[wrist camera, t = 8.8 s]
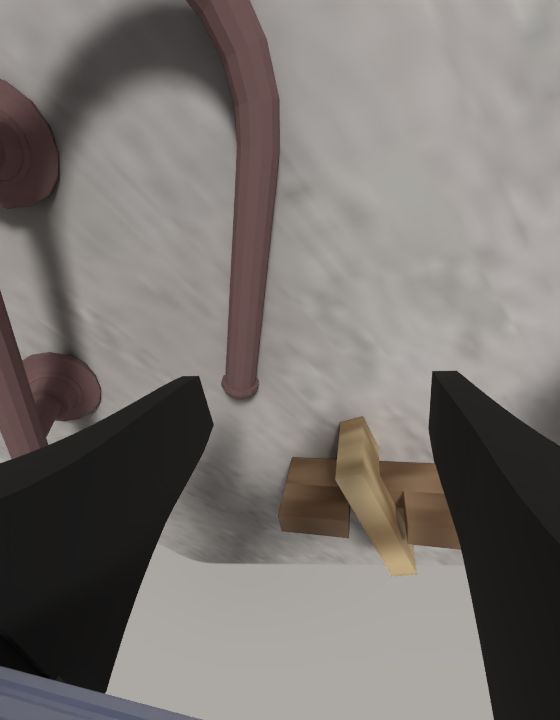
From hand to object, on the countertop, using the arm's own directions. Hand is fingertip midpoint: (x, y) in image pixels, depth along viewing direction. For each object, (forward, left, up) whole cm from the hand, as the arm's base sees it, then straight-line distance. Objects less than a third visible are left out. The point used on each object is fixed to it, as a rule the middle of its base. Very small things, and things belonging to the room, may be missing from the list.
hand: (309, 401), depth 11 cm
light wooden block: (-2, +13, -10) cm, 16 cm away
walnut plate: (-2, +13, -10) cm, 16 cm away
